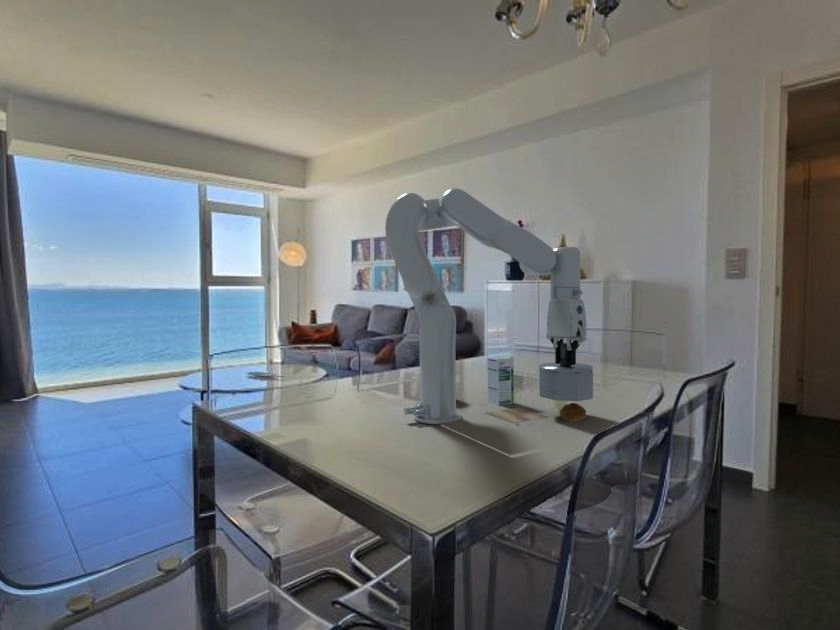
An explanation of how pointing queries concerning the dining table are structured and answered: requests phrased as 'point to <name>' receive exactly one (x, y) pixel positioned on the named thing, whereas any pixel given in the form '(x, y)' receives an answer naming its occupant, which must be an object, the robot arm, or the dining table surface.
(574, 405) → the pastry
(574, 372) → the grey round part
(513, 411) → the wooden board
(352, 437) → the dining table surface
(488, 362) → the syrup box
